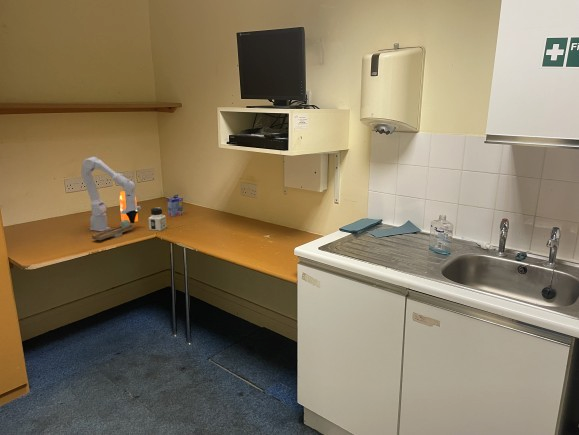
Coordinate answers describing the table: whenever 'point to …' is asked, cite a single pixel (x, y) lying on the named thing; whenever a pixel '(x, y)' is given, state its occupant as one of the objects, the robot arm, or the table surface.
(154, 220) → the container
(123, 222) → the block
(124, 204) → the orange juice
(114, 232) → the beam
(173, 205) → the ink cartridge box
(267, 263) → the table surface
